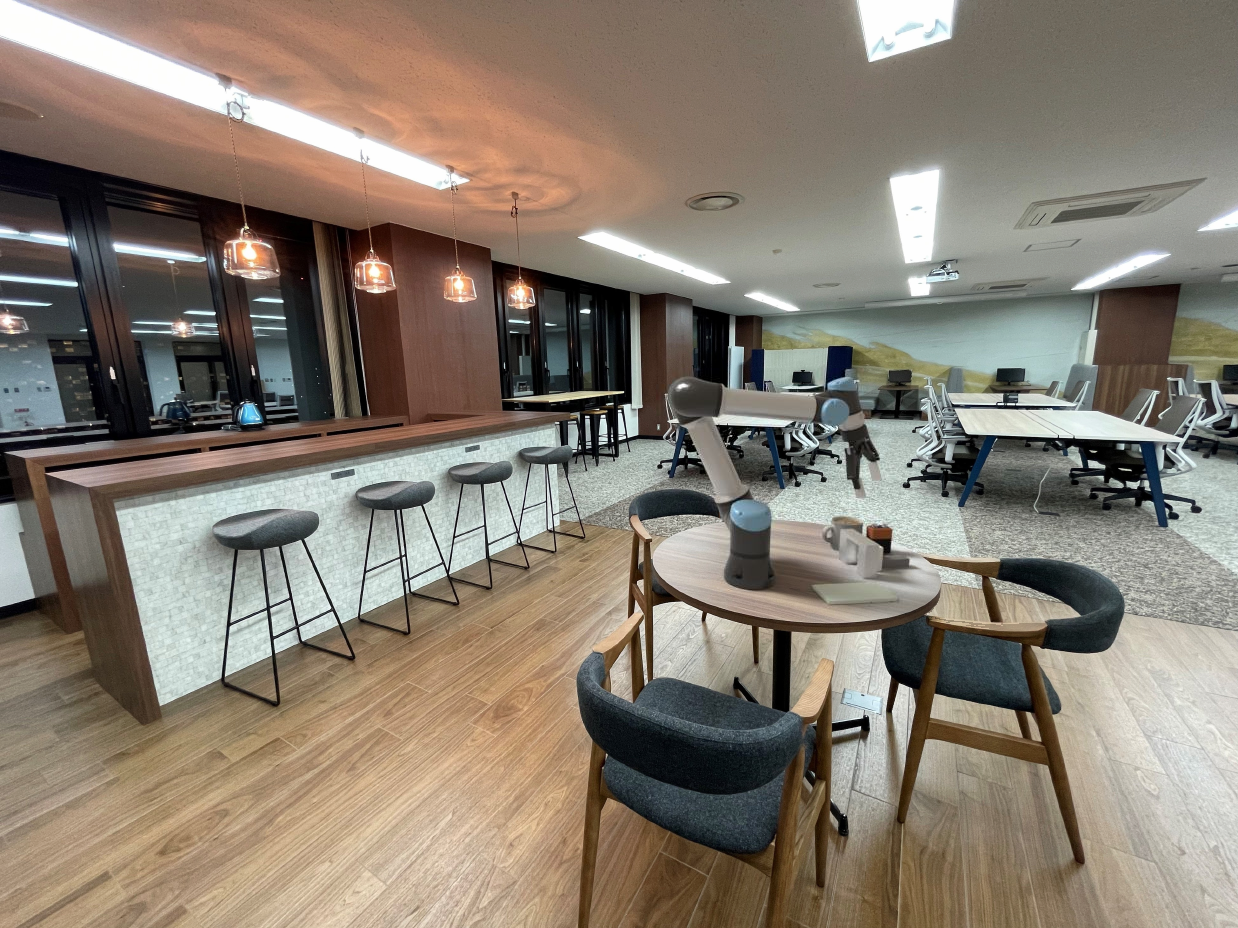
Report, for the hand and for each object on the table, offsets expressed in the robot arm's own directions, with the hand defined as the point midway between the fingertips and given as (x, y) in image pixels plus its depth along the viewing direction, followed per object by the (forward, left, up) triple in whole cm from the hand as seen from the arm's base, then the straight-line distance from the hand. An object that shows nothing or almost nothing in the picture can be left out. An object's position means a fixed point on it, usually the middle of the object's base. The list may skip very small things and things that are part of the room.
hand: (869, 488), depth 151 cm
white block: (+4, -6, -24) cm, 25 cm away
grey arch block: (-6, -6, -24) cm, 26 cm away
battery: (+8, +6, -24) cm, 26 cm away
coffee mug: (-2, +12, -24) cm, 27 cm away
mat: (-16, -23, -24) cm, 37 cm away
